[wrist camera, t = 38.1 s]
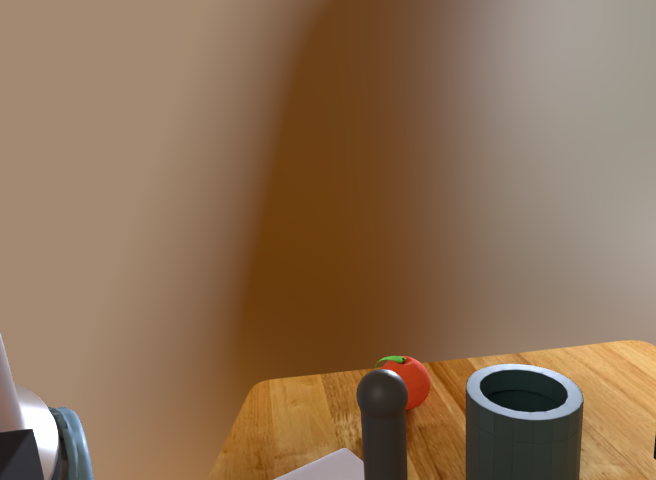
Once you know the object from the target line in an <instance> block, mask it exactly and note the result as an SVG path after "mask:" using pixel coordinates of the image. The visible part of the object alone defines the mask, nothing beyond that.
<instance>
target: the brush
mask: <svg viewBox="0 0 656 480" xmlns="http://www.w3.org/2000/svg"><path fill="white" fill-rule="evenodd" d="M357 402H358V405H359V407H360V409H361V424H362V443H363V462H364V480H407V452H406V420H405V408H406V406H407V403H408V390H407V387H406V384H405V383H404V381H403V380H402V378H401V377H400V376H399V375H397V374H396V373H394V372H393V371H390V370H386V369H377V370H374V371H371V372H369V373H368V374H366V375H365V376H364V377H363V378H362V380H361V381H360V383H359V385H358V388H357Z"/></svg>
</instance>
